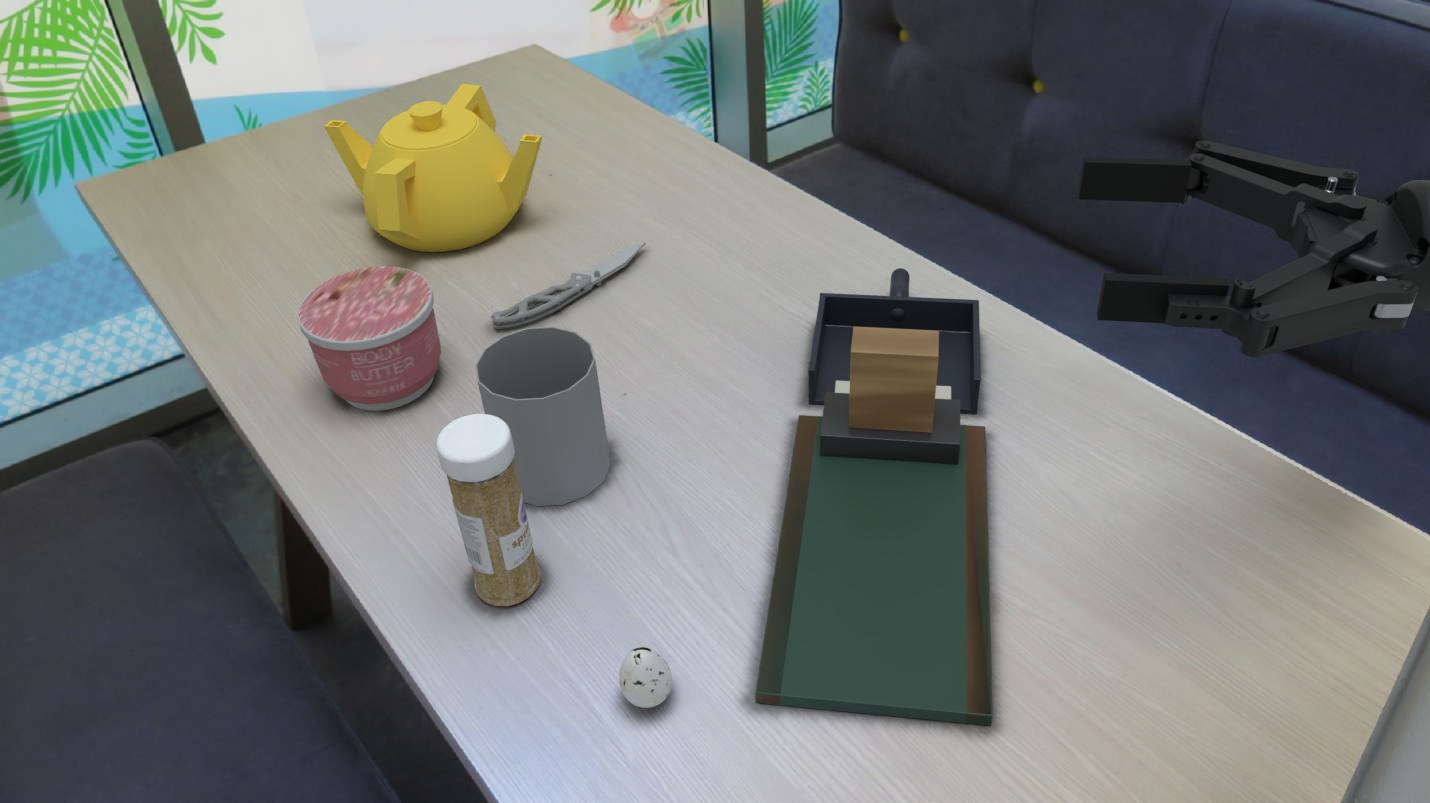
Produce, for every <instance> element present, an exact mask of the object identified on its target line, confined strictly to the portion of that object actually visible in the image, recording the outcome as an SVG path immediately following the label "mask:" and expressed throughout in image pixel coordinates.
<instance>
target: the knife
mask: <svg viewBox="0 0 1430 803" xmlns="http://www.w3.org/2000/svg"><path fill="white" fill-rule="evenodd" d="M645 246H646V242H642V243H636V244H633V245H630V246H628V247H625V248H624V249H622V250H619V251H618V252H616V253H614V254H612V255H610V256H609V257H607V258H606V259H603V260H602V261H600V262H599V263H597V264H595V265H593V266H592V267H590V268H588V269H587V270H585V269H583V270H581V272H580V273H578V272H571V274H570V277H569V280H568V281H567V282H565V283H563V284H559V285H551V286H550V287H548V288H546V289H544V290H542V291H540V292H537V293H534V294H532V295H529V296H527V297H526V298H524V299H522V300H521V301H518V302H517V303H515V304H514V305H512V306H510V307H509V308H507V309H504V310H498V311H495V312H493V313H492V314H491V315H490V317H491V319H492V321H491V323H492V324H493V325H494V329H496V330H497V329H501V330H502V329H509V328H515V327H518V326H522V325H525V324H529V323H532V322H534V321H537V320H539V319H541V318H544V317H546V316H549V315H551V314H553V313H555V312H557V311H558V310H560V309H562V308H564V307H566V306H567V305H568V304H570V303H572V302H573V301H575V300H576V299H578V298H579V297H581V296H583V295H584V294H586V293H588V292H589V291H592V289H593V287H594V286H596V287H600V286H601V285H602V281H603V280H605V279H607V278H608V277H610V276H612V275H613V274H615V273H616V272H619V270H621V269H622V268H623V269H624V268H625V267H626V266H627V265H628V264H629V262H631V260H633V258H634V257H635V256H636V255H637V254H638V253H639V252H640V251H641V250H642V248H643V247H645ZM561 293H562V294H561ZM558 294H559V295H558ZM540 304H541V305H540ZM537 305H539V306H537Z"/></svg>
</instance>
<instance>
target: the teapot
mask: <svg viewBox="0 0 1430 803" xmlns="http://www.w3.org/2000/svg"><path fill="white" fill-rule="evenodd" d="M323 127H324V130H325V131H326V133H327V135H328V137H329V139H330V140H331V142H332V144H333V146H334V148H335V149H336V151H337V153H338V155H339V156H340V158H341V160H342V162H343V164H344V165H345V168H346V169H347V171H348V173H349V174H350V177H351V178H352V180H353V182H354V183H355V185H356V187H357V189H358V190H359V193H360V194H361V195H362V198H363V208H364V212H365V216H366V219H367V221H368V223H369V225H370V226H371V227H372V228H373V230H374V231H375V232H377V233H378V234H379V235H380V236H382V237H384V238H385V239H387V240H388V241H390V242H392V243H394V244H396V245H397V246H400V247H401V248H405V249H407V250H411V251H417V252H422V253H423V252H425V253H442V252H443V253H444V252H451V251H457V250H458V251H459V250H464V249H466V248H469V247H474V246H477V245H479V244H481V243H484V242H486V241H487V240H490V239H491V238H493V237H495V236H496V235H498V234H499V233H500V232H501V231H503V230H504V229H505V228H506V227H507V226H508V224H509V223H510V222H511V221H512V219H513V218H514V216H515V215H516V213H517V212H518V210H519V209H520V208H521V205H522V202H523V201H524V199H525V197H526V196H527V194H528V191H529V187H530V184H531V180H532V176H533V173H534V170H535V165H536V162H537V157H538V154H539V150H540V147H541V143H542V140H543V136H542V134H541V135H540V134H530V133H529V134H527V133H524V134H523V135H522V136H521V138H520V139H519V145H518V147H517V149H516V152H515V153H514V155H513V154H512V152H511V151H510V149H509V147H508V146H507V145H506V144H505V142H504V141H503V139H501V138H500V136H499V135H498V134H497V133H496V132H495V131H496V127H497V120H496V117H495V115H494V113H493V111H492V108H491V106H490V104H489V101H488V99H487V97H486V94H485V93H484V90H483V87H482V86H481V85H479V84H470V83H461V85H460V86H459V87H458V88H457V90H456V91H455V92H454V93H453V95H452V97H451V98H450V99H449V101H448V102H447V103H446V104H442V103H440V102H439V101H433V100H426V101H421V102H418V103H415V104H413V105H411V106H410V107H409V109H407V110H406V111H403V112H400V113H399V114H397V115H394V116H393V117H392V118H391V119H389V120H388V121H387V122H386V123H384V125H383V126H382V128H381V129H380V131H379V134H378V135H377V137H376V139H375V141H374V144H373V145H371V143H369V142H368V141H367V140H366V139H365V138H364V137H363V136H362V135H361V134H360V133H359V132H357V131H356V130H355V129H354V128H353V127H352V126H351V125H349V124H348V121H347V120H338V119H337V120H336V119H331V120H329V121H328V122H326V124H324V125H323Z"/></svg>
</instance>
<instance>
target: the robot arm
mask: <svg viewBox="0 0 1430 803" xmlns="http://www.w3.org/2000/svg"><path fill="white" fill-rule="evenodd" d="M1359 179H1360V173H1359V172H1358V171H1356V170H1354V169H1349V168H1339V167H1327V166H1326V167H1325V166H1317V165H1312V164H1309V163H1304V162H1300V161H1296V160H1291V159H1287V158H1282V157H1278V156H1274V155H1270V154H1266V153H1261V152H1257V151H1253V150H1248V149H1243V148H1239V147H1235V146H1231V145H1226V144H1222V143H1218V142H1212V141H1209V140H1199V141H1196V142H1195V145H1194V149H1193V152H1192V153H1191V154H1190V155H1189V156H1188V158H1185V159H1179V158H1177V159H1176V158H1147V157H1144V158H1143V157H1142V158H1141V157H1113V156H1112V157H1109V156H1108V157H1107V156H1083V161H1082V167H1081V173H1080V180H1079V185H1078V191H1077V197H1078V200H1080V201H1081V200H1082V201H1083V200H1087V201H1112V202H1138V203H1139V202H1143V203H1171V204H1182V205H1185V204H1187V203H1188V202H1190V201H1192V199H1196V200H1199V201H1202V202H1204V203H1206V204H1210V205H1211V206H1215V207H1217V208H1219V209H1222V210H1225V211H1227V212H1230V213H1232V214H1235V215H1238V216H1240V217H1243V218H1245V219H1247V220H1250V221H1253V222H1256V223H1257V224H1260V225H1263V226H1266V227H1268V228H1271V229H1273V230H1274V231H1275V234H1276V236H1277V238H1278V239H1280V240H1281V241H1284V242H1286V243H1289V244H1290V246H1291V248H1292V251H1294V252H1295V253H1296V255H1298V259H1296V260H1293V261H1291V262H1289V263H1287V264H1285V265H1283V266H1280V267H1279V268H1276V269H1274V270H1272V271H1270V272H1268V273H1265V274H1264V275H1261V276H1260V277H1257V278H1256V279H1253V280H1251V281H1249V282H1246V281H1245V280H1242V279H1241V280H1240V278H1239V277H1237V278H1236V279H1234V282H1233V283H1234V284H1233V287H1232V290H1231V294H1230V295H1228V292H1229V288H1230V283H1229V279H1228V278H1227V277H1211V276H1186V275H1165V274H1164V275H1163V274H1144V273H1143V274H1141V273H1122V272H1121V273H1119V272H1103V278H1102V283H1101V289H1100V294H1099V299H1098V305H1097V309H1096V318H1097V321H1104V322H1105V321H1106V322H1107V321H1109V322H1125V323H1126V322H1127V323H1148V324H1164V325H1167V326H1171V327H1175V328H1185V327H1186V328H1195V329H1196V328H1197V329H1215V330H1217V329H1218V330H1221V331H1222V332H1223V333H1224V334H1225V335H1227V336H1229V337H1233V338H1237V339H1238V340H1239V342H1240V343H1241V344H1240V347H1239V350H1240V352H1241V354H1243V355H1244V356H1246V357H1249V358H1260V357H1264V356H1268V355H1272V354H1277V353H1280V352H1284V351H1287V350H1291V349H1296V348H1299V347H1303V346H1307V345H1311V344H1315V343H1319V342H1323V341H1327V340H1331V339H1335V338H1339V337H1342V336H1346V335H1351V334H1354V333H1359V332H1361V331H1366V330H1401V329H1403V328H1405V326H1406V323H1407V321H1408V318H1409V316H1410V314H1411V312H1412V311H1414V312H1415V311H1417V312H1430V180H1428V179H1427V180H1424V179H1416V180H1415V179H1413V180H1410V181H1407V182H1405V183H1404V184H1402V185H1401V186H1400V187H1398V188H1397V189H1396V190H1395V192H1393V193H1392V194H1391V195H1389V196H1388V197H1386V198H1384V199H1381V200H1379V199H1374V198H1368V197H1363V196H1360V195H1357V193H1356V188H1357V185H1358V183H1359V182H1358V181H1359ZM1239 282H1240V283H1239ZM1272 327H1275V329H1274V330H1272ZM1339 803H1430V606H1429V607H1428V608H1427V611H1426V613H1425V616H1424V618H1423V620H1422V622H1421V624H1420V626H1419V628H1418V631H1417V633H1416V635H1415V637H1414V640H1413V642H1412V644H1411V646H1410V649H1409V651H1408V653H1407V654H1406V658H1405V660H1404V662H1403V664H1402V666H1401V668H1400V670H1399V673H1398V675H1397V677H1396V680H1395V681H1394V684H1393V686H1392V687H1391V691H1390V693H1389V695H1388V697H1387V699H1386V702H1385V703H1384V705H1383V708H1382V709H1381V712H1380V714H1379V717H1378V718H1377V720H1376V723H1375V726H1374V727H1373V730H1372V732H1371V734H1370V736H1369V738H1368V741H1367V743H1366V745H1365V748H1364V750H1363V752H1362V754H1361V756H1360V758H1359V760H1358V762H1357V765H1356V766H1355V769H1354V771H1353V773H1352V776H1351V778H1350V779H1349V782H1348V784H1347V787H1346V789H1345V791H1344V793H1343V796H1342V798H1341V800H1340V802H1339Z"/></svg>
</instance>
